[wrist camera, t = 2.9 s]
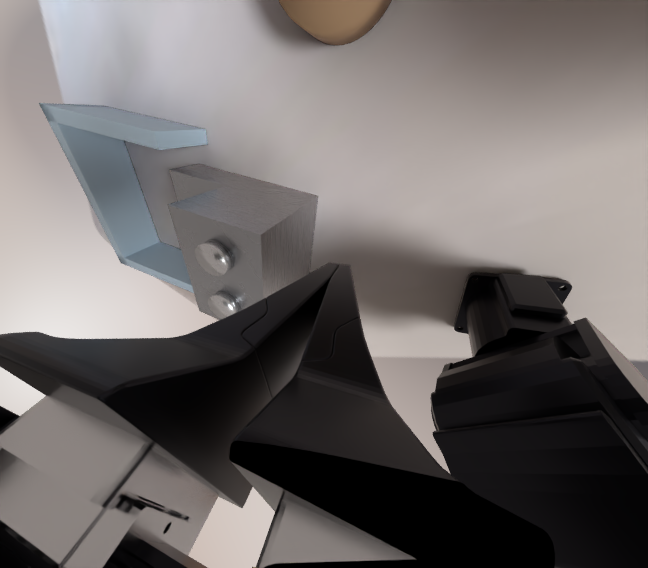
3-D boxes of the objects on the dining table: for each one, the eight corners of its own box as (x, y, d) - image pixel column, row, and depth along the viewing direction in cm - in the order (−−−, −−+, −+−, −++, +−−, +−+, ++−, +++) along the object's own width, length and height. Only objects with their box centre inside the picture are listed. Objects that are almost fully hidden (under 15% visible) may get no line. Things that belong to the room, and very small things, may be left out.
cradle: (205, 129, 20) (154, 131, 17) (228, 274, 31) (200, 295, 27) (103, 105, 23) (38, 102, 19) (156, 246, 33) (120, 262, 30)
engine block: (318, 195, 20) (252, 240, 13) (308, 282, 26) (260, 346, 19) (199, 163, 23) (88, 185, 15) (215, 249, 29) (142, 294, 22)
